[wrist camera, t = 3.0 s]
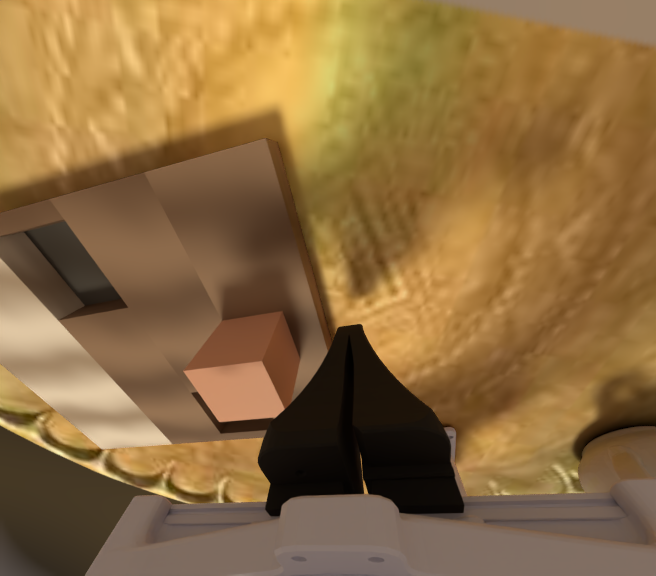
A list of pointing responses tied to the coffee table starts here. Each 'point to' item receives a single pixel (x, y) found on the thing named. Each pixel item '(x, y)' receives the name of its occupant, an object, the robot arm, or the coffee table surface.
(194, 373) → the block
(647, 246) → the coffee table surface
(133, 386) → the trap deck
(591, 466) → the teacup
